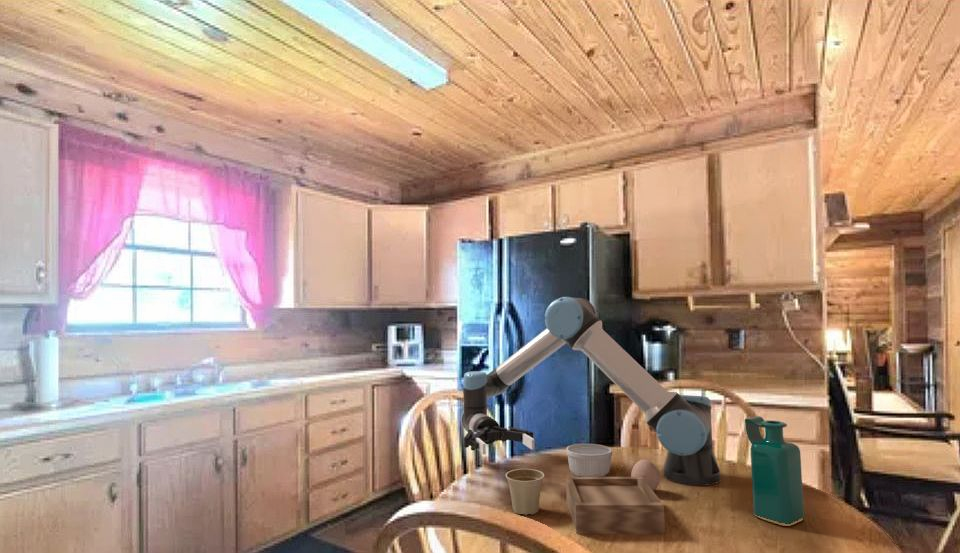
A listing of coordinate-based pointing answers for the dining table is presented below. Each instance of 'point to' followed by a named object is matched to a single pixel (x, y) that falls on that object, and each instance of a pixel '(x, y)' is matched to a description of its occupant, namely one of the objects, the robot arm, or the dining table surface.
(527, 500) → the flower pot
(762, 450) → the teal bottle with handle
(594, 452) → the ramekin
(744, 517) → the dining table surface
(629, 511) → the walnut open box
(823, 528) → the dining table surface
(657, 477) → the egg
